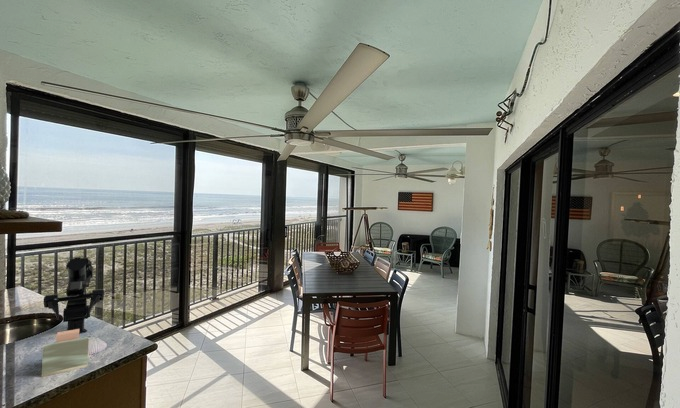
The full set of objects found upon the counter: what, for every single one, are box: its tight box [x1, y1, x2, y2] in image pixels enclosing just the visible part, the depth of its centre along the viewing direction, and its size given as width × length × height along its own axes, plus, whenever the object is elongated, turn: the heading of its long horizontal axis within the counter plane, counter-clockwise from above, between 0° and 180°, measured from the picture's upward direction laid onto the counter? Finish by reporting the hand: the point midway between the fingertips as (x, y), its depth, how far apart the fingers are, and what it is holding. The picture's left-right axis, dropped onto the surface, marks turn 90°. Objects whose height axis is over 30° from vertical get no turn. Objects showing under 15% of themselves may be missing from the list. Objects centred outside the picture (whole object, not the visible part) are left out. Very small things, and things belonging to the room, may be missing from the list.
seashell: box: [88, 337, 108, 356], centre depth 121 cm, size 10×6×10 cm
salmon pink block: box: [55, 329, 80, 343], centre depth 108 cm, size 3×6×12 cm, turn 128°
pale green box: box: [41, 336, 90, 378], centre depth 108 cm, size 10×12×11 cm
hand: (73, 316), depth 119 cm, fingers open, 9 cm apart
